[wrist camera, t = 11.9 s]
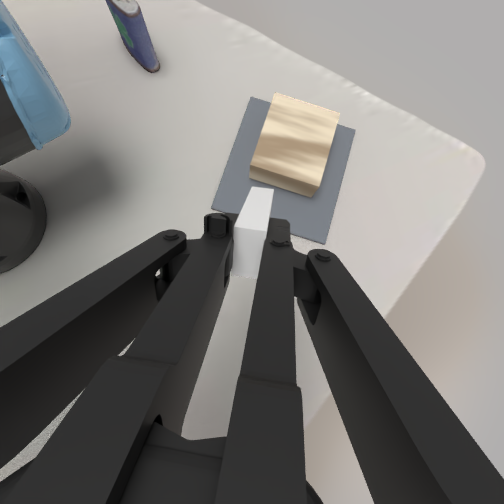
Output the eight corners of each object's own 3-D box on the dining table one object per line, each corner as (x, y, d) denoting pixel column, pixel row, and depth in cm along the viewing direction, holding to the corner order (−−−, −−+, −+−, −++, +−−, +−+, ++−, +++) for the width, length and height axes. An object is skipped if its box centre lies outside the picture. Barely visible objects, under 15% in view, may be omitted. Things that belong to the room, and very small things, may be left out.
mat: (323, 244, 38) (325, 243, 37) (211, 208, 38) (211, 207, 37) (354, 131, 41) (355, 129, 41) (250, 98, 41) (250, 96, 41)
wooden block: (319, 186, 34) (340, 113, 36) (250, 164, 34) (274, 92, 36) (310, 198, 38) (329, 131, 40) (248, 178, 38) (271, 113, 40)
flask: (163, 68, 41) (137, -9, 31) (148, 77, 41) (116, 2, 30) (132, 29, 42) (96, -59, 32) (117, 37, 42) (76, -49, 31)
